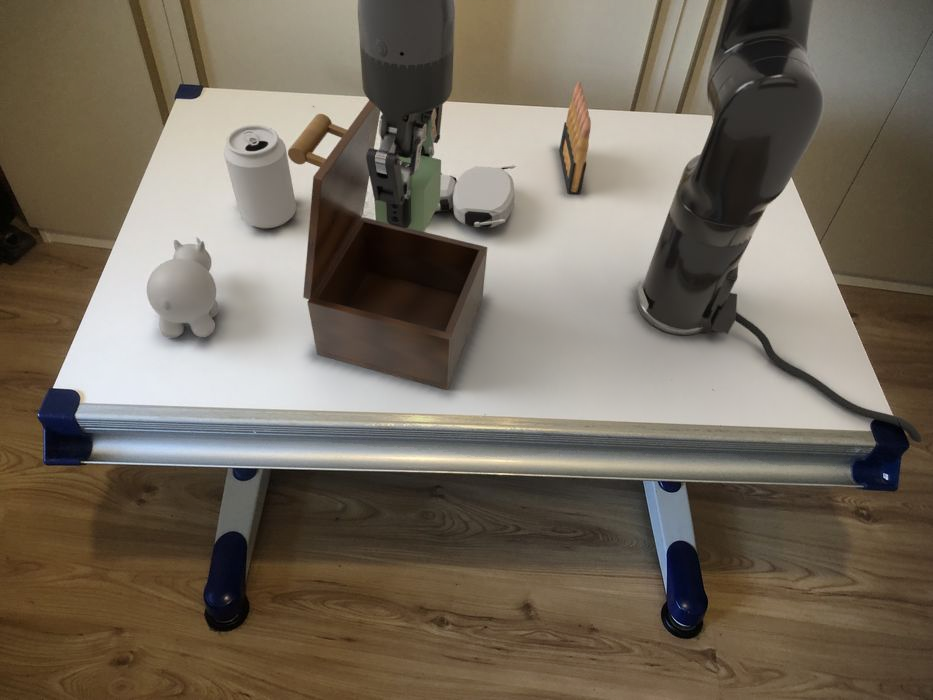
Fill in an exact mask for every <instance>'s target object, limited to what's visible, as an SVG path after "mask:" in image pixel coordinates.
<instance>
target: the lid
mask: <svg viewBox="0 0 933 700" xmlns="http://www.w3.org/2000/svg"><path fill="white" fill-rule="evenodd" d="M380 117H381V111H380V110H379V108H378V107H377V106H376V105H374V104H373V103H372V102H371V101H370V100H369V99H368V101H367V103H366V104H365V105H364V107H363V108H362V110H361V111H360V112H359V113H358V115H357V116H356V117H355V119H354V120H353V122H352V123H351V125H349V127H348V128H344V127H342V126H339V125H337V124H334V123H333V122H332V119H330V117H329V116H328V115H326V114H325V113H318V114H316V115H315V116H314V117H313V118H312V120H311V121H310V122H309V123H308V125H306V127H305V128H304V130H303V131H302V132H301V133H300V135H299V136H298V137H297V138H296V140H295V141H294V142H293V143H292V144H291V146H290V147H289V148H288V150H287V157H288V159H289V160H290V161H291V162H292V163H294V164H296V165H304V164H305V163H308V164H311V165H313V166H316V167H318V170H317V171H316V172H315V174H313V177H312V186H311V187H312V188H311V200H310V210H309V211H310V213H309V223H308V235H307V248H306V260H305V271H304V284H303V295H302V298H303V299H306V300H307V301H308V300H310V299H311V298H312V296H313V295H314V293H315V291H316V290H317V288H318V286H319V285H320V283H321V282H322V280H323V278H324V277H325V275H326V274H327V272H328V270H329V269H330V267H331V265H332V264H333V262H334V261H335V259H336V257H337V256H338V254H339V252H340V251H341V249H342V248H343V246H344V244H345V243H346V241H347V239H348V238H349V236H350V235H351V233H352V231H353V230H354V228H355V227H356V225H357V223H358V222H359V220H360V218H361V217H363V215H364V211H365V205H366V198H367V192H368V187H369V181H370V175H369V171H368V166H367V161H366V154H367V151H368V149H369V148H373V149H375V146H376V140H377V133H378V129H379V122H380ZM327 134H330V135H334V136H336V137H338V138H340V139H339V140H338V142H337V144H336V145H335V146H334V147H333V149H332V151H331V152H330V153H329V155H328V156H327V157H326V158H325V157H322V156H320V155H318V154H315V153H314V151H315V150H316V149H317V148H318V146H319V145H320V144H321V142H322V141H323V140H324V138H325V137H326V136H327Z"/></svg>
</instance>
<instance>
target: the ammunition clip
mask: <svg viewBox="0 0 933 700" xmlns="http://www.w3.org/2000/svg"><path fill="white" fill-rule="evenodd" d="M568 107H569V108H568V109H567V116H566V121H565V122H564V124H563V129H562V132H561V133H562V134H561V138H560V145H559V149H558V152H559V157H560V162H561V169H562V172H563V173H562V174H563V178H564V183H565V187H566V192H567V194H581V190H582V187H583V182H584V179H585V178H584V177H585V173H586V168H587V160H586V159H587V155H588V151H589V145H590V142H589V141H590V133H591V129H592V128H591V127H592V123H591V117H590V114H589V109H588V105H587V101H586V97H585V95H584V90H583V86H582V82H581V81H580V80H579V81H578V82H577V84H576V85H575V87H574V90H573V93H572V97H571V101H570V105H569V106H568Z"/></svg>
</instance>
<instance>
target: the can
mask: <svg viewBox="0 0 933 700" xmlns="http://www.w3.org/2000/svg"><path fill="white" fill-rule="evenodd" d="M223 156H224V160H225V164H226V167H227V168H226V169H227V171H228V176H229V179H230V183H231V187H232V191H233V195H234V199H235V203H236V206H237V209H238V214H239V216H240V218H241V220H243V221H244V222H245V223H246V224H247V225H250V226H251V227H255V228H259V229H274V228H277V227H278V228H279V227H280V226H282V225H284V224H286V223H287V222H288V221H289V220H290V219H291V218H293V216H294V215H295V213H296V211H297V203H296V198H295V197H296V196H295V192H294V186H293V180H292V175H291V170H290V165H289V164H290V163H289V156H288V151H287V146H286V144H285V142H284V140H283V139H282V138H281V137H280V136H279V134H278V132H277V131H276V130H275V129H273V128H272V127H269V126H267V125H263V124H248V125H243V126H240V127H238V128H235V129H234V130H233V131H231V132H230V133H229V134H228V136H227V137H226V144H225V146H224V148H223Z"/></svg>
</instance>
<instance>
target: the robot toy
mask: <svg viewBox="0 0 933 700" xmlns="http://www.w3.org/2000/svg"><path fill="white" fill-rule="evenodd" d="M516 167H517V165H514V164H510V165H506V166H500V167H490V166H477V165H475V166H473V167H471V168H469V169H467V170H466V171H464V172H463V173H462V174H460V176H459V177H458V178H456V177H455V176H453V175H447V174H443V173H442V172H441V186H440V202H439V204H438V206H437V208H436V210H435V212H436V213H437V212H442V213H443V212H448V211H450V210H451V209H453V214H454V217H455V219H456V220H457V221H458V222H460V223H461V224H463V225H464V226H467V227H474V228H486V229H487V228H494V227H497V226H499V225H500V224H505V222H506V221H507V219H508V218H509V216H510V214H511V213H512V210H513V207H514V206H515V184H514V180H513V177H512V176H511V175H510V174H509V172H507V171H506V170H508V169H510V170H512V169H515V168H516ZM435 212H434V213H435Z"/></svg>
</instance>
